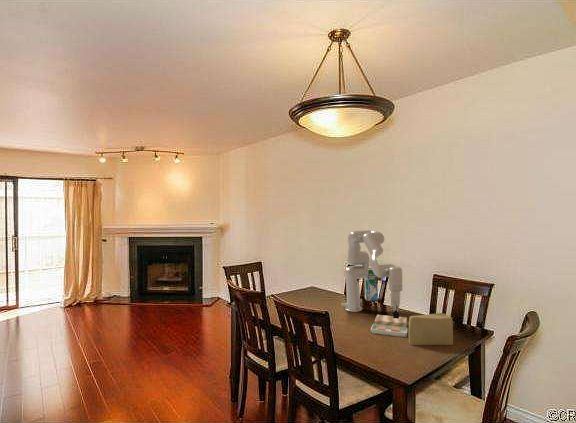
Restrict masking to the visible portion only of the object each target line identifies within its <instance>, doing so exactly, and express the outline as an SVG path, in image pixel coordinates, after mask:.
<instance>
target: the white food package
mask: <svg viewBox="0 0 576 423" xmlns="http://www.w3.org/2000/svg"><path fill="white" fill-rule="evenodd" d="M374 324H379V325H389V326H399V327H408V317H406V316H399V319H397V318H393V315H386V314H385V315H384V314H383V315H382V314H376V317H375V319H374Z"/></svg>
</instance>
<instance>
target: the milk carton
mask: <svg viewBox="0 0 576 423" xmlns="http://www.w3.org/2000/svg"><path fill="white" fill-rule="evenodd" d="M363 279H364V280H363V281H364V299H365V301H367V302H378V301H379V297H378V296H379V294H378V289H379V288H378V277H377V276H376V275H375V274H374V273H373V271H372V269H371V268H369V270H368V275H367V277H366V278H363Z"/></svg>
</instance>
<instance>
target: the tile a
mask: <svg viewBox="0 0 576 423" xmlns="http://www.w3.org/2000/svg"><path fill="white" fill-rule="evenodd" d="M377 330H385V331H386V327H383V326H378V328H377Z"/></svg>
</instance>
